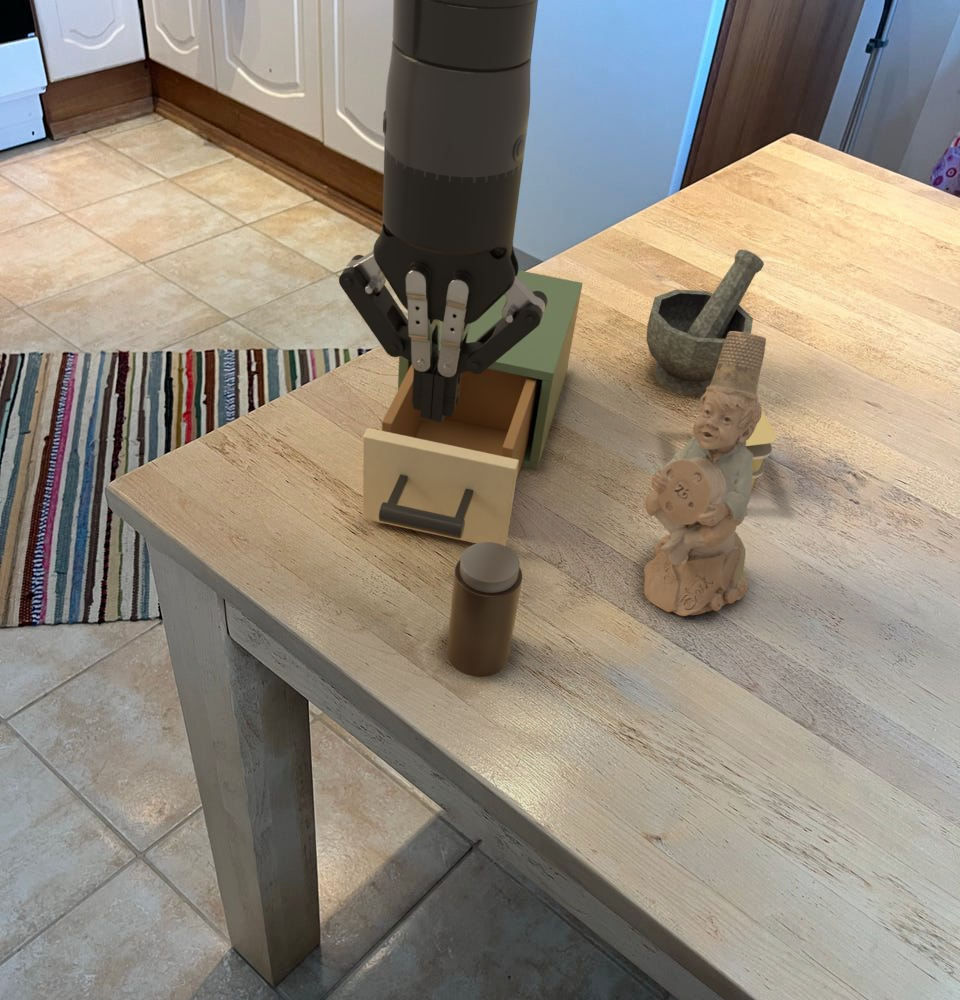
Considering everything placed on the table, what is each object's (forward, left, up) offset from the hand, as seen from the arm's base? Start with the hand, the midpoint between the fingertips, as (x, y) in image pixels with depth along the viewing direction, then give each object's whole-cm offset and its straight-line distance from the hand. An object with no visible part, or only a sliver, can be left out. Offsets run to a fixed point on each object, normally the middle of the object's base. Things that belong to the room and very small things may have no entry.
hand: (434, 414), depth 65 cm
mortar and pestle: (+18, +34, -14) cm, 41 cm away
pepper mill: (+6, -8, -14) cm, 17 cm away
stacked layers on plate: (+22, +19, -14) cm, 32 cm away
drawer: (0, +7, -13) cm, 15 cm away
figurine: (+20, +4, -14) cm, 25 cm away
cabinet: (0, +22, -14) cm, 26 cm away
